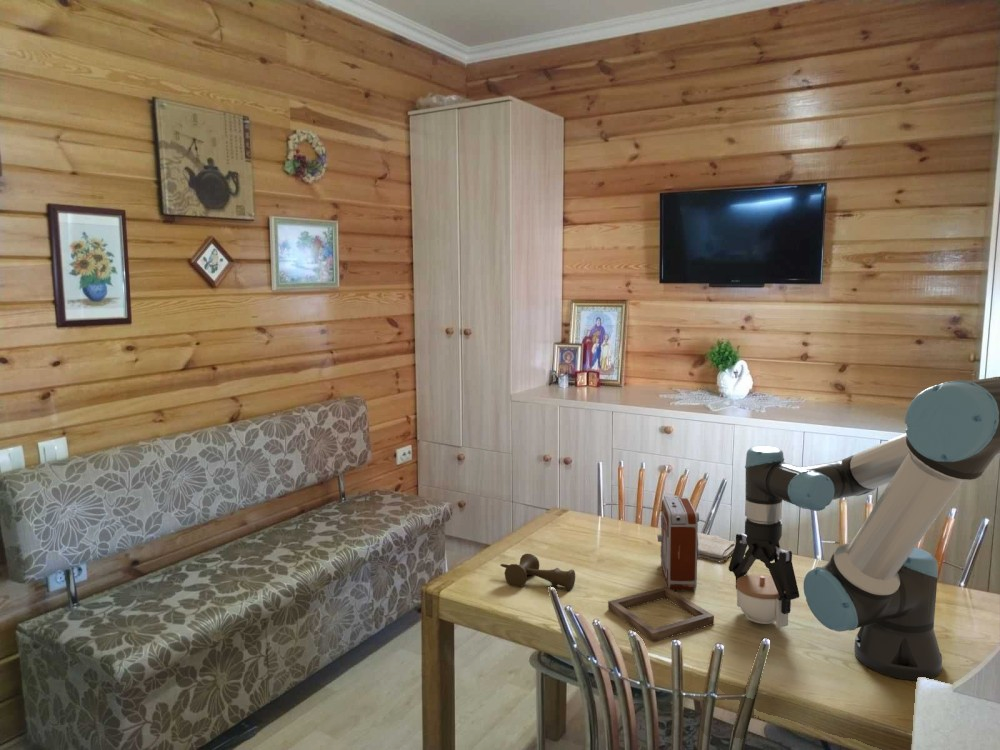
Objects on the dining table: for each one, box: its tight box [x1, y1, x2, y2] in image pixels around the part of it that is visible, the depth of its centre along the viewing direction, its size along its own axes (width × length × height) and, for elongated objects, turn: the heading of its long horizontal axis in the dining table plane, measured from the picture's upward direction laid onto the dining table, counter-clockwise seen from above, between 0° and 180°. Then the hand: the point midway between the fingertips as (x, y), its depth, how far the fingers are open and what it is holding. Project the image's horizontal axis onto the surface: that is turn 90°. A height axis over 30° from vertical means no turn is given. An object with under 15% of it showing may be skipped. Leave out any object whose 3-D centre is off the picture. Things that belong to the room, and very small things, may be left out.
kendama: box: [500, 553, 576, 592], centre depth 181 cm, size 6×10×20 cm
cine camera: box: [656, 494, 700, 592], centre depth 181 cm, size 9×19×20 cm, turn 174°
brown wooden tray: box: [607, 585, 715, 643], centre depth 162 cm, size 16×16×2 cm
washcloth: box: [698, 532, 736, 563], centre depth 199 cm, size 12×18×3 cm, turn 54°
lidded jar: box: [735, 573, 786, 625], centre depth 157 cm, size 11×11×9 cm
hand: (761, 615), depth 158 cm, fingers closed on lidded jar, 11 cm apart
